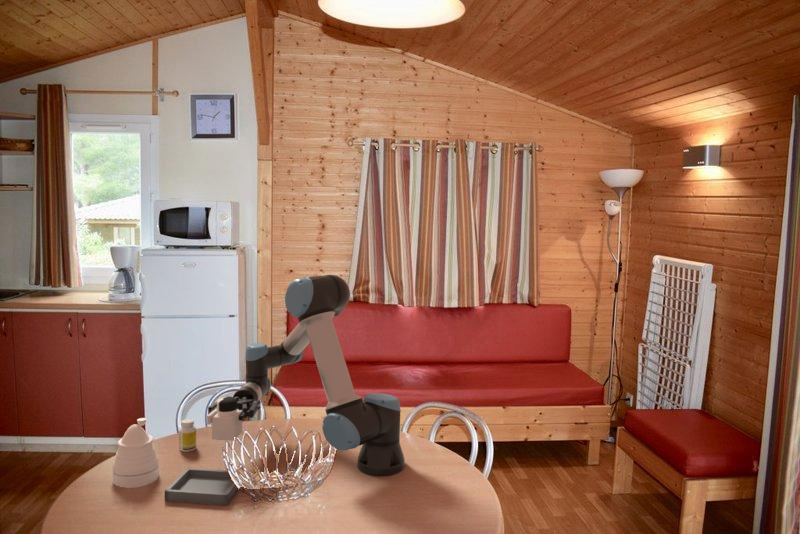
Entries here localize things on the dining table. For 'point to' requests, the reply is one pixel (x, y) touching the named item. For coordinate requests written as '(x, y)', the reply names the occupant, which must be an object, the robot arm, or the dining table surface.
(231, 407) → the medicine bottle
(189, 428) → the supplement bottle
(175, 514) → the dining table surface
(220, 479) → the tray
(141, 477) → the honey pot
